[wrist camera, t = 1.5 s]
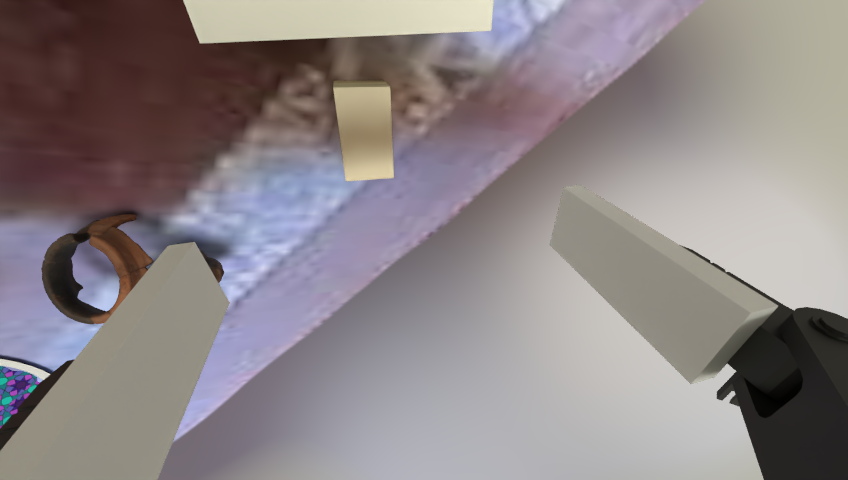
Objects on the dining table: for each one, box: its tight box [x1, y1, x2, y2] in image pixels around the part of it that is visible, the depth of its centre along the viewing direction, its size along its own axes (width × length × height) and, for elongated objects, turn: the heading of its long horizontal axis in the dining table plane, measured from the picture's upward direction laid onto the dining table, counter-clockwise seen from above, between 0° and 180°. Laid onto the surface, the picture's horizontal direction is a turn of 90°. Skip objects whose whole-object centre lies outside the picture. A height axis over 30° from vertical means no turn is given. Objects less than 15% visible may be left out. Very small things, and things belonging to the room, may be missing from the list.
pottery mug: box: [42, 214, 224, 324], centre depth 27 cm, size 12×10×8 cm
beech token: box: [333, 80, 394, 181], centre depth 25 cm, size 7×4×4 cm, turn 179°
